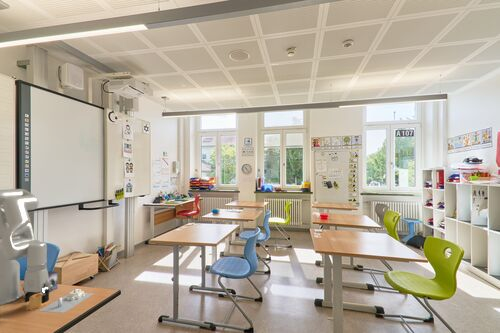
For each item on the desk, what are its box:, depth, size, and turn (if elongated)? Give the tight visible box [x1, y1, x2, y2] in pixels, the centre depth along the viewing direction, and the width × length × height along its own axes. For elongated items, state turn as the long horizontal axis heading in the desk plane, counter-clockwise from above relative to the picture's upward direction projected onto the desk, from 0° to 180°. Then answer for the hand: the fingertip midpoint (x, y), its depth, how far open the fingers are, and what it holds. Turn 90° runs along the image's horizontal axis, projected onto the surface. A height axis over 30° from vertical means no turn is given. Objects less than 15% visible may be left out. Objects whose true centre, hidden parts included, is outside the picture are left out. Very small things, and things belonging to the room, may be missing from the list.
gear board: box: [39, 288, 95, 314], centre depth 122 cm, size 14×18×5 cm
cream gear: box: [66, 288, 85, 301], centre depth 127 cm, size 8×8×3 cm
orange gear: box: [25, 293, 48, 311], centre depth 120 cm, size 8×8×6 cm
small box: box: [33, 270, 59, 295], centre depth 134 cm, size 11×6×10 cm, turn 168°
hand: (37, 301), depth 119 cm, fingers open, 9 cm apart
